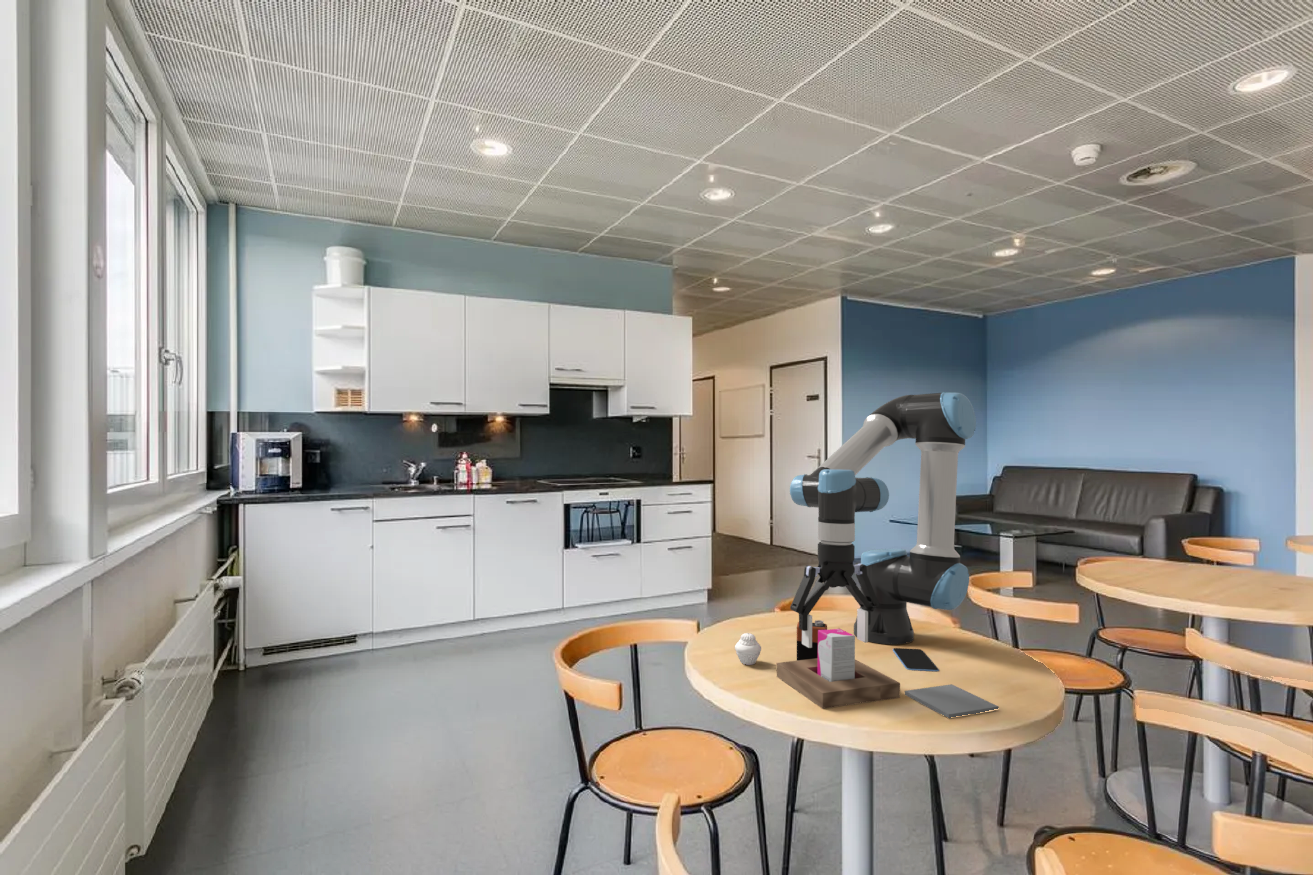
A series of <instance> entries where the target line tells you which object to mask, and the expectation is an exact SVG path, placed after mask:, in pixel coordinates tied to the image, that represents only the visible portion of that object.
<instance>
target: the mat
mask: <svg viewBox="0 0 1313 875" xmlns="http://www.w3.org/2000/svg"><path fill="white" fill-rule="evenodd" d="M904 695H905V696H906V697H908V698H910V699H912V700H913V701H915V702H918V703H919V704H921V705H922V706H925V707H927V708H928V709H930V710H932V711H933V712H936V713H937V714H939V715H941V714H942V715H941V716H943V715H944V716H943V717H945V716H946V717H948V718H949V719H952V718H951V717H956V716H962V715H968V714H974V715H977V714H976V713H980V712H985V711H989V710H994V709H998V708H999V705H996V704H994V703H993V702H991V701H988V700H986V699H984V698H982V697H980V696H978V695H975V694H973V693H971V692H969V691H967V690H965V689H963V688H960V687H958V686H957V685H954V684H952V683H950V684H943V685H937V686H930V687H924V688H916V689H908V690H904ZM968 716H969V715H968ZM946 717H945V718H946ZM962 717H963V716H962ZM948 718H947V719H948ZM956 718H957V717H956Z"/></svg>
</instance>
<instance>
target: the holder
mask: <svg viewBox="0 0 1313 875" xmlns="http://www.w3.org/2000/svg"><path fill="white" fill-rule="evenodd" d="M817 665H818V658H815V659H807V660H798V661H797V660H791V661H790V660H789V661H781V662H776V678H778V679H779V680H781V681H782V682H784V683H785V684H787V685H788V686H789V687H791V688H792V689H793V690H795V691H797V692H798V693H799V694H801V695H803V696H804V697H805V698H807V699H808V700H810V701H811V703H813V704H815V705H817V706H818V707H820V708H821V709H823V710H824V709H831V708H837V707H844V706H852V705H859V704H864V703H866V704H867V703H872V702H873V703H874V702H880V701H886V700H891V699H899V698H901V696H900V695H901V683H900V682H899V681H898V680H895V679H893V678H891V677H889V676H888V675H885V674H884V673H882V672H880V671H878V670H876V669H875V668H872V667H871V666H869V665H867V664H865V663H863V662H861V661H859V660H857V659H855V679H848V680H841V681H833V682H829V681H828V680H826V679H824V678H823V677H821V676H819V675H818V674H817Z"/></svg>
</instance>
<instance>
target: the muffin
mask: <svg viewBox="0 0 1313 875" xmlns="http://www.w3.org/2000/svg"><path fill="white" fill-rule="evenodd" d="M734 650H735V652H736V655H737V658H738V659H739V662H740V663H741V664H742V663H743V664H742V665H745V664H746V665H745V666H751V665H755V664H756V662H757V661H758V658H759V656H760V655H761V651H762V646H761V644H760V643H759V642H758V640H756V636H755V634H752V633H749V632H745V633H743V634H741V635H740V639H739V640H738V641H737V642H736V644H735V645H734Z"/></svg>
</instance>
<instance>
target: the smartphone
mask: <svg viewBox="0 0 1313 875" xmlns="http://www.w3.org/2000/svg"><path fill="white" fill-rule="evenodd" d="M892 651H893V653H894V655H895V656H896V657H897V659H898V660H899V662H901V664H902V666H903V667H904V668H905V669H906V670H907V671H917V672H918V671H920V672H922V671H925V672H940V668H938V667H937V665H936V664H935V663H934V662H933V660H932V659H931V658H929V655H927V653H925V651H924V650H922V649H919V648H907V647H905V648H903V647H901V648H900V647H893V648H892Z"/></svg>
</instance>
